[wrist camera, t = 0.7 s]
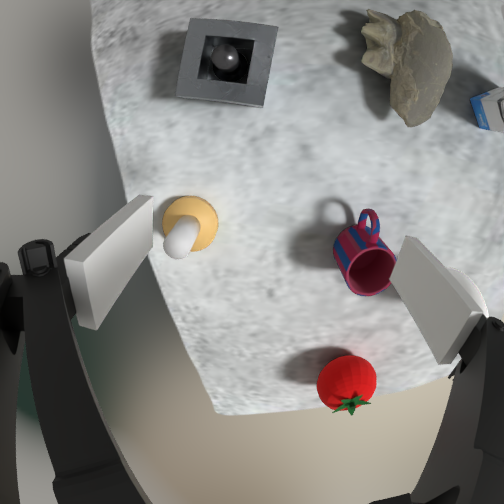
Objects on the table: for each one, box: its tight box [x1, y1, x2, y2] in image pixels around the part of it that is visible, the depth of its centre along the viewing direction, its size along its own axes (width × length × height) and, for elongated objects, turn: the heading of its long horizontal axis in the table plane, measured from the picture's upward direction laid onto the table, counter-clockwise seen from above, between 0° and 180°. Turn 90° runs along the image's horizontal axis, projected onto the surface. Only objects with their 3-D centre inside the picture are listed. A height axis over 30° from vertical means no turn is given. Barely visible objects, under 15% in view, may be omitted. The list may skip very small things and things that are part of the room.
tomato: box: [317, 355, 376, 415], centre depth 44 cm, size 10×10×10 cm
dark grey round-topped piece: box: [211, 45, 248, 82], centre depth 26 cm, size 4×4×6 cm
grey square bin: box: [175, 18, 278, 108], centre depth 26 cm, size 9×9×5 cm
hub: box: [162, 196, 218, 259], centre depth 34 cm, size 7×7×8 cm
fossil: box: [361, 9, 453, 127], centre depth 24 cm, size 14×10×10 cm
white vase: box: [445, 267, 489, 318], centre depth 32 cm, size 8×8×18 cm
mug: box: [333, 209, 397, 296], centre depth 34 cm, size 7×10×7 cm
